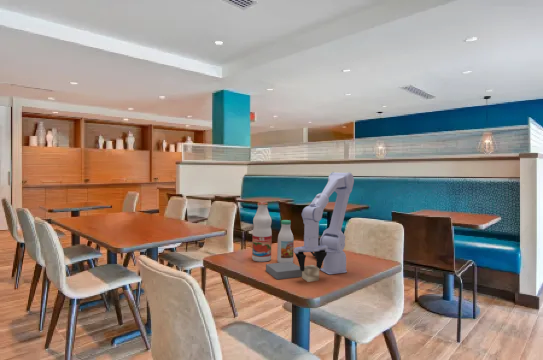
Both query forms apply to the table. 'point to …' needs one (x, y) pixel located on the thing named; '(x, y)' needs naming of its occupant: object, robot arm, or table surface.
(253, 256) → the fruit juice
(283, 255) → the milk bottle
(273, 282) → the table surface
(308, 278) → the maple cube
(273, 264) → the grey base
